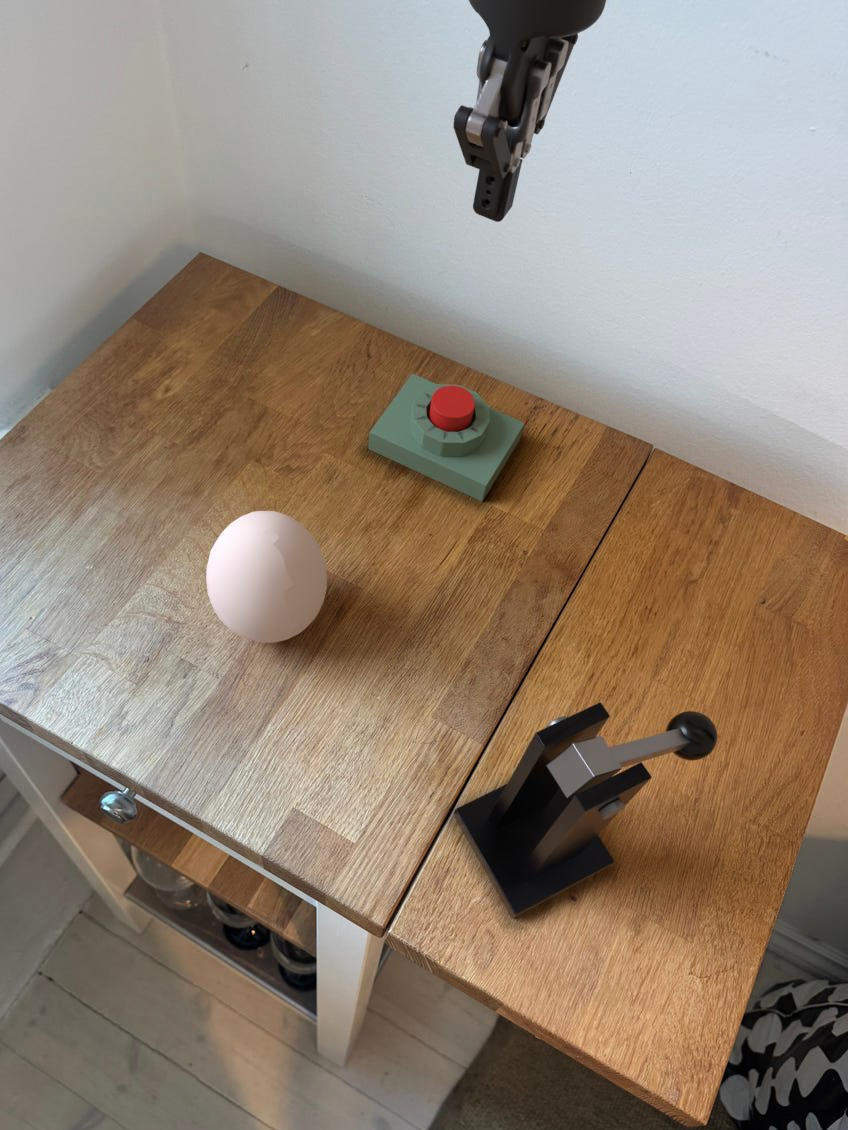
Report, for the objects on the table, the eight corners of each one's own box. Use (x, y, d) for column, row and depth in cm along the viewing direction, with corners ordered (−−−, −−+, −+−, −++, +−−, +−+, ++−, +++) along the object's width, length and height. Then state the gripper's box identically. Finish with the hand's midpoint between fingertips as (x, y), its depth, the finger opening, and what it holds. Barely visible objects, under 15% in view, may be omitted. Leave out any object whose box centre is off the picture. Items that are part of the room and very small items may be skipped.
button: (440, 393, 79) (443, 379, 77) (478, 410, 78) (482, 395, 77) (421, 421, 77) (424, 406, 76) (460, 438, 77) (463, 424, 75)
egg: (304, 558, 74) (305, 465, 64) (341, 647, 71) (347, 564, 61) (199, 586, 72) (182, 496, 62) (231, 680, 69) (218, 600, 59)
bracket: (548, 767, 67) (611, 667, 53) (610, 866, 64) (695, 787, 50) (452, 814, 65) (493, 723, 51) (511, 919, 61) (572, 851, 48)
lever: (671, 725, 63) (706, 698, 61) (700, 765, 61) (736, 739, 59) (536, 761, 53) (572, 731, 51) (566, 810, 51) (605, 780, 49)
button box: (410, 390, 84) (414, 357, 80) (520, 440, 82) (529, 408, 78) (368, 449, 80) (370, 417, 77) (482, 502, 78) (490, 471, 75)
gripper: (573, -18, 42) (501, 291, 57) (668, -128, 48) (581, 178, 63) (426, -68, 44) (394, 247, 59) (537, -169, 49) (482, 141, 65)
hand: (491, 211), depth 61 cm, fingers closed
